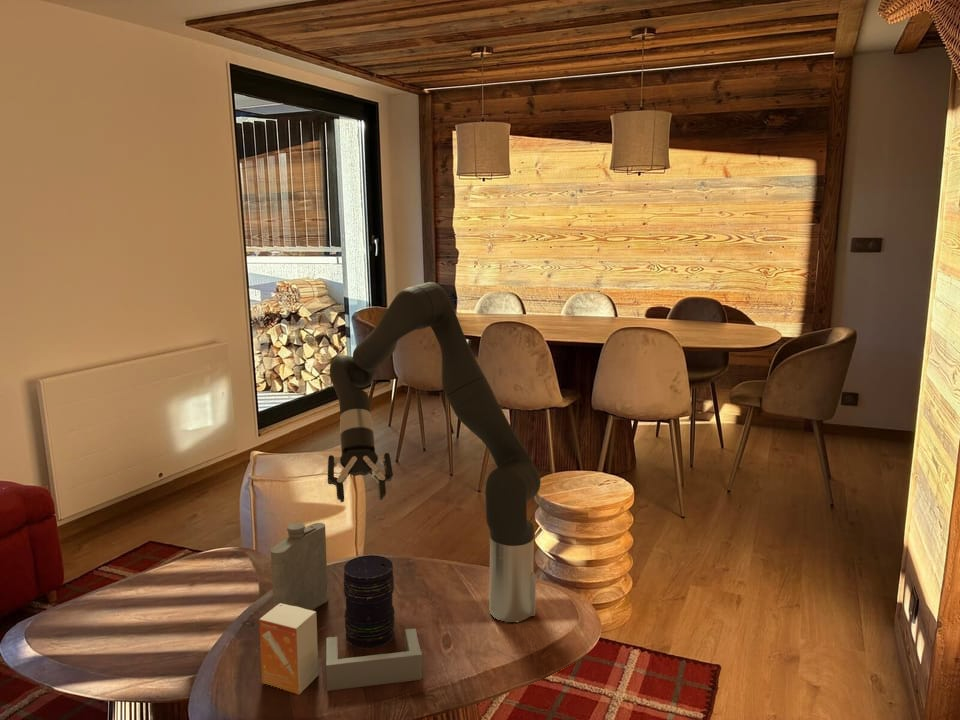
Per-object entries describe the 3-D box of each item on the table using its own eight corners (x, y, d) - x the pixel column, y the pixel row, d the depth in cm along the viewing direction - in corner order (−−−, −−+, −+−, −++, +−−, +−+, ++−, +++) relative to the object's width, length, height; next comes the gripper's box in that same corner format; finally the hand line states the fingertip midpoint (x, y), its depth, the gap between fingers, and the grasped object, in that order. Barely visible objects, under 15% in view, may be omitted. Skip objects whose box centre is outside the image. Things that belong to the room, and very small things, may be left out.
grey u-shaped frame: (415, 646, 143) (415, 623, 142) (422, 679, 133) (422, 654, 132) (327, 656, 139) (326, 632, 138) (327, 690, 129) (326, 665, 128)
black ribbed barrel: (346, 651, 141) (344, 580, 138) (343, 624, 150) (341, 557, 148) (397, 645, 143) (396, 575, 141) (392, 619, 153) (390, 552, 150)
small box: (261, 685, 131) (257, 618, 128) (283, 665, 137) (279, 601, 134) (299, 696, 128) (296, 628, 125) (319, 675, 134) (317, 610, 131)
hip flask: (283, 635, 147) (279, 542, 143) (267, 630, 148) (263, 538, 145) (330, 598, 161) (327, 513, 157) (315, 594, 163) (312, 510, 159)
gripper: (326, 426, 163) (330, 495, 155) (389, 424, 167) (396, 491, 159) (324, 441, 169) (327, 508, 161) (385, 438, 173) (391, 503, 165)
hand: (362, 499), depth 160 cm, fingers open, 8 cm apart
